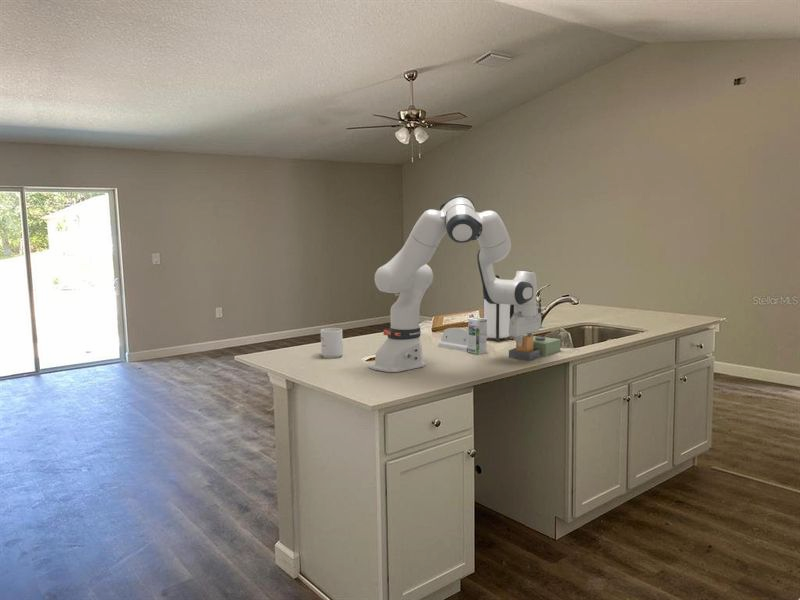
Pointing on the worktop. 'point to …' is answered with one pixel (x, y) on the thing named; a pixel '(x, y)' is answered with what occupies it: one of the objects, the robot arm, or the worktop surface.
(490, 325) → the coffee press
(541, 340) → the green box
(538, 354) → the tray
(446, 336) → the hinge
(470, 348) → the syrup box
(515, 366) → the worktop surface
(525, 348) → the orange rectangular block
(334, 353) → the mug
